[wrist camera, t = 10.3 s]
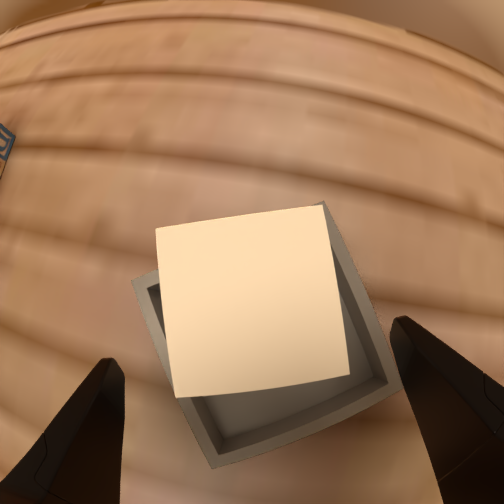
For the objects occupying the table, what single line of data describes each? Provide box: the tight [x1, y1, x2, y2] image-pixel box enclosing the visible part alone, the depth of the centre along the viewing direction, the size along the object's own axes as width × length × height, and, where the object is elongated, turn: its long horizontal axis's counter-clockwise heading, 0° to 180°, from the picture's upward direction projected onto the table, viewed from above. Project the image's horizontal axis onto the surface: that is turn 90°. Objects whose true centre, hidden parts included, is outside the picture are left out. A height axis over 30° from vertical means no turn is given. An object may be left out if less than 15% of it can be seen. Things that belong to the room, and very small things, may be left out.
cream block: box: [156, 205, 350, 398], centre depth 15 cm, size 5×5×12 cm
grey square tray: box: [131, 201, 403, 469], centre depth 19 cm, size 13×13×4 cm
